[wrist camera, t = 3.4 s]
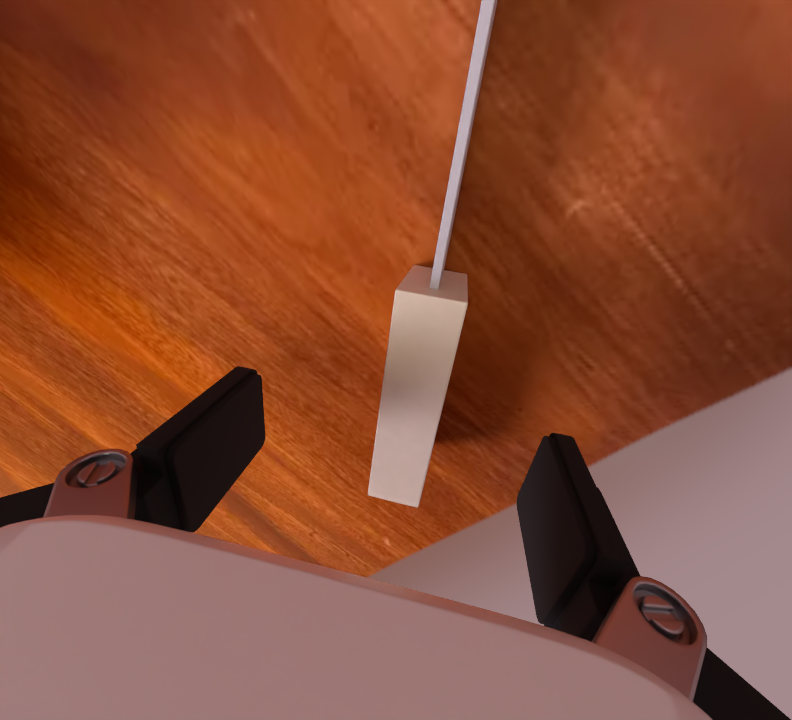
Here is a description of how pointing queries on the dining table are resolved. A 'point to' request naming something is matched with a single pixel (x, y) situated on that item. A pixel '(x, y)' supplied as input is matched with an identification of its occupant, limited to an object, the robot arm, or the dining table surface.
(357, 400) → the dining table surface
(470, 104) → the knife
